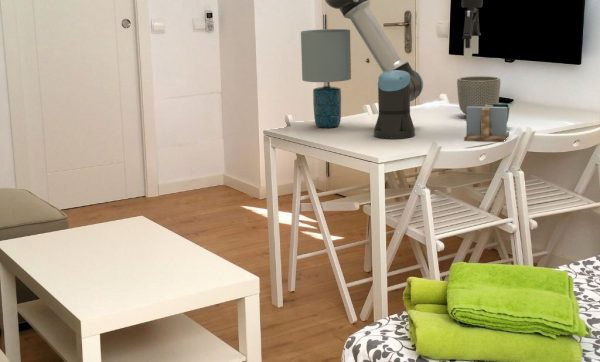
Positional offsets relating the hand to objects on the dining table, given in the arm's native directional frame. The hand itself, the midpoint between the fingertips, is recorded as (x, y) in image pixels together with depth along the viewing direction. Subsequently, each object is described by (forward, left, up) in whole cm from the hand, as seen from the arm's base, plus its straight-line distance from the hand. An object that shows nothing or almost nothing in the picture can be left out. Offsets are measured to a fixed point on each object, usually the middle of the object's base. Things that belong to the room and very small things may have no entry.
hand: (471, 55), depth 328 cm
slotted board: (+8, -11, -27) cm, 31 cm away
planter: (-2, +33, -29) cm, 44 cm away
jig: (+8, -11, -29) cm, 32 cm away
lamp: (-57, +3, -29) cm, 64 cm away
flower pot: (+9, +8, -29) cm, 31 cm away
